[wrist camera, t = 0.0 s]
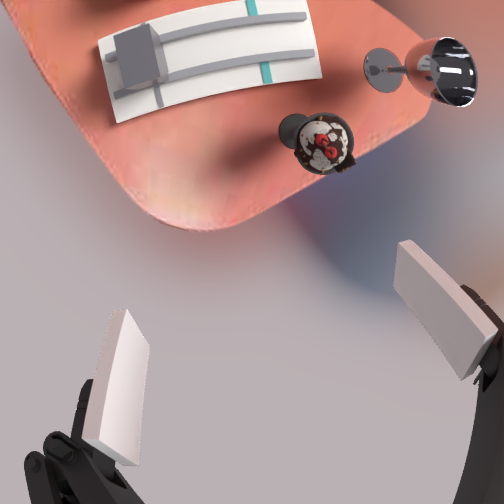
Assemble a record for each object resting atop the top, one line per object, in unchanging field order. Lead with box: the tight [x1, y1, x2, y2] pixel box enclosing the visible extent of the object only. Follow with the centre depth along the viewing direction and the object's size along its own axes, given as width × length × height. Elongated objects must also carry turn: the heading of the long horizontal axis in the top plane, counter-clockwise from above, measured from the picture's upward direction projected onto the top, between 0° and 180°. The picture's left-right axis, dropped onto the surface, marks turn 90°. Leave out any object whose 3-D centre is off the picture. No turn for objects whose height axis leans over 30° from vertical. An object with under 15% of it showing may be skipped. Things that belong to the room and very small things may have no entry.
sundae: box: [279, 113, 356, 175], centre depth 30 cm, size 7×7×15 cm
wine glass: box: [364, 37, 478, 107], centre depth 26 cm, size 8×8×15 cm
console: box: [98, 0, 322, 123], centre depth 28 cm, size 12×26×4 cm, turn 101°
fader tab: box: [113, 23, 169, 90], centre depth 24 cm, size 6×4×8 cm, turn 11°
